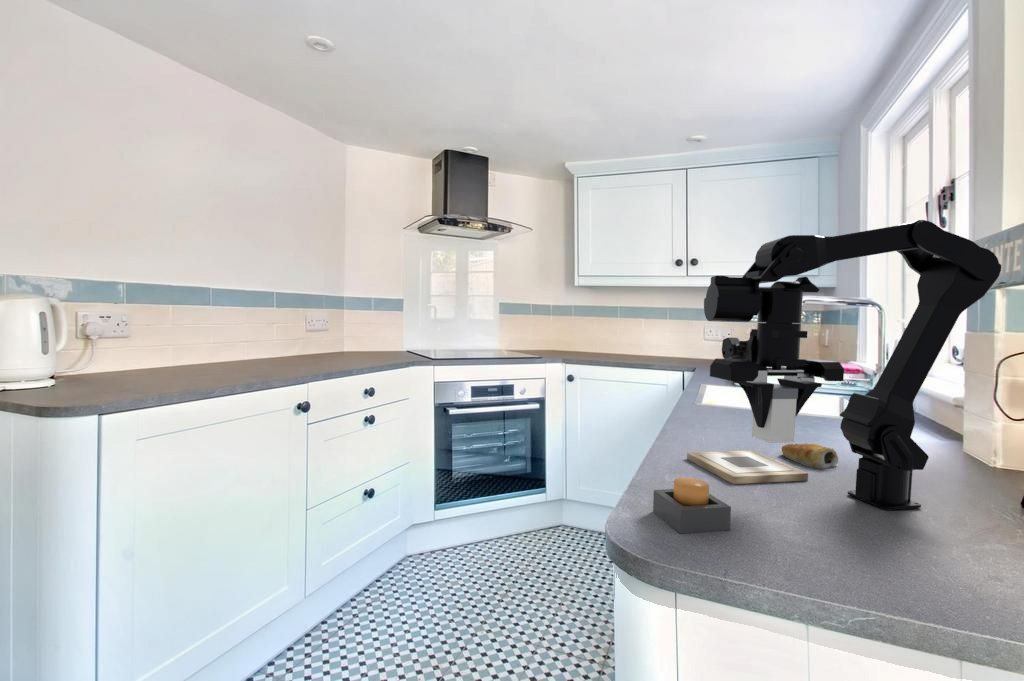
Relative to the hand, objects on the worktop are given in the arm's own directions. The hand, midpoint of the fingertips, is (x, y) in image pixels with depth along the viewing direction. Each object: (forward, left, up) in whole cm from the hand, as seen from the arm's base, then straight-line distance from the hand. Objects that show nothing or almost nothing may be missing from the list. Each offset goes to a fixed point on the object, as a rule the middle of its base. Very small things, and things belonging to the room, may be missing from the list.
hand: (773, 427), depth 74 cm
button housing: (+17, +6, -11) cm, 21 cm away
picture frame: (-5, -13, -11) cm, 18 cm away
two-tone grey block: (0, 0, -2) cm, 2 cm away
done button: (+17, +6, -8) cm, 20 cm away
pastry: (-21, -15, -11) cm, 28 cm away
